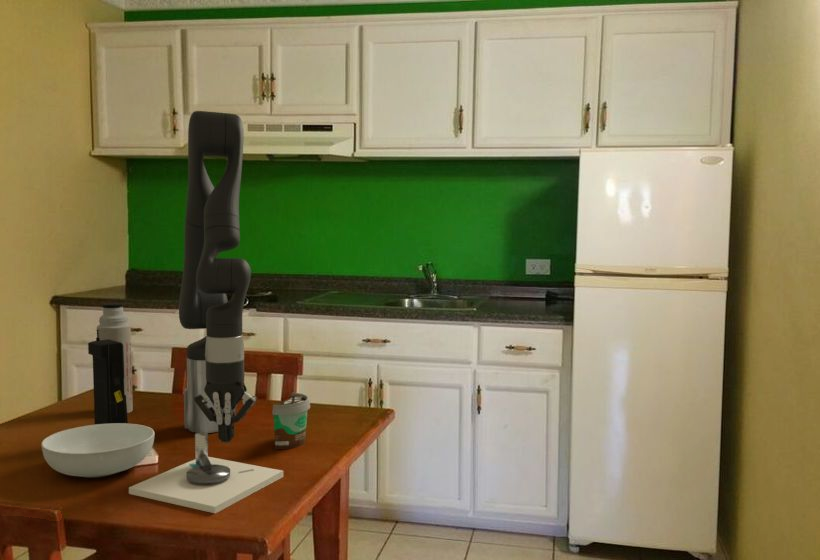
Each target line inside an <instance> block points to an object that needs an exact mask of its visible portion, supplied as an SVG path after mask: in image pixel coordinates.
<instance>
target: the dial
mask: <svg viewBox="0 0 820 560" xmlns="http://www.w3.org/2000/svg"><path fill="white" fill-rule="evenodd" d="M208 434H209V433H205V432H201V433H195V434H194V445H195V448H194V449H195V453H194V454H195V458H194V459H195V461H196V465H198V467H194V468H192V469H190V470H188V471H187V473H186V478H187V481H188V482H190V483H193V484H214V483H219V482H222V481H225V480H227V479H228V478H229V477H230V468H229V467H227V466H224V465H214V464H213V465H211V463H210V461H209V459H208V457H209V450H208V449H209V441H208V440H209V439H208V438H209V437H208V436H209V435H208Z"/></svg>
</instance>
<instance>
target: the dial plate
mask: <svg viewBox="0 0 820 560" xmlns="http://www.w3.org/2000/svg"><path fill="white" fill-rule="evenodd" d="M208 459H209V461H210V463H211V465H213V464H214V465H224V466H227V467H229V468H230V477H229V478H228V479H227V480H225V481H222V482H219V483H214V484H193V483H190V482H188V481H187V478H186V473H187V471H188V470H190V469H192V468H194V467H198V465H196V461H195V458H194V459H193V460H190V461H187V462H185V463H183V464H180V465H178V466H176V467H173V468H171V469H168V470H167V471H164V472H162V473H159V474H157V475H154V476H153V477H149V478H148V479H146V480H143V481H141V482H138V483H136V484H134V485H132V486H131V485H130V486H129V487H128V494H129V495H133V496H137V497H141V498H146V499H150V500H155V501H159V502H163V503H168V504H173V505H177V506H180V507H186V508H190V509H195V510H199V511H203V512H208V513H212V514H218V513H220V512H221V511H222V510H224V509H227V508H228V507H230V506H232V505H234V504H236V503H237V502H239V501H241V500H243V499H245V498H247V497H248V496H250V495H252V494H255V493H256V492H258V491H259V490H262V489H263V488H265V487H267V486H269V485H271V484H272V483H274V482H276V481H279V480H280V479H282V478H284V470H282V469H276V468H270V467H266V466H265V467H264V466H259V465H254V464H250V463H245V462H239V461H233V460H228V459H223V458H217V457H212V456H208Z"/></svg>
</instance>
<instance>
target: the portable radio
mask: <svg viewBox="0 0 820 560" xmlns="http://www.w3.org/2000/svg"><path fill="white" fill-rule="evenodd" d="M95 331H96V338H95V340H92V341H90V342H87V343H88V345H87V349H88V350H87V351H88V355H92V375H93V376H92V379H93V382H92V383H93V405H94V406H93V409H94V412H93V413H94V424H93V425H96V424H111V423H128V421H129V420H128V413H127V404H126V395H125V393H124V351H123V344H122V343H121V342H117V341H113V340H109V339H107V340H100V338H99V334H98V331H99V330H97V329H95ZM128 424H129V423H128Z"/></svg>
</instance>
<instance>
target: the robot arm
mask: <svg viewBox="0 0 820 560" xmlns="http://www.w3.org/2000/svg"><path fill="white" fill-rule="evenodd" d="M187 130H188V131H187V134H188V135H187V147H188V149H187V155H188V156H187V157H188V158H187V165H188V167H187V169H188V176H187V177H188V178H187V195H186V196H187V197H186V208H185V218H184V220H185V221H184V238H183V239H184V244H183V246H184V248H183V249H184V252H183V255H184V256H183V267H182V268H183V269H182V276H181V277H182V279H181V285H180V293H179V303H178V318H179V323H180V325H181V327H182V328H183V329H187V330H202V329H203V330H204V329H205V330H206V335H205V336H204V337H203V338H201V339H199V340H196V341H194V342H192V343H190V344H188V346H187V348H186V380H187V381H186V382H187V383H186V385H187V386H186V388H184V389H183V403H184V406H183V407H184V412H183V413H184V429H186V430H188V431H189V432H192V433H195V434H196V433H201V432H205V433H207V434H211V433H217V435H218V440H220V442H221V443H224V444H229V443H230V442H231V441H232V440H233V439H234V437H235V423H236V424H237V423H239V422H240V421H241V420H242V419H244V417H245V416H246V415H247V414H248V412H249V411H250V410H251V408H252V407H253V406H254V405H255V403H256V402H257V401H258V398H257V396H255V395H253V396H252V395H251V394H250V393H249V392H248V391H247V387H246V384H245V344H244V338H243V337H244V334H243V311H244V305H245V302H246V301H245V299H246V296H247V292H248V289H249V286H250V283H251V277H252V269H251V267H250V264H249V263H248V261H246V259H244V258H240V257H236V258H235V257H231V258H227V257H226V258H225V257H224V258H222V257H221V258H220V257H219V258H218V256H219V255H220V253H223V252H228V251H231V250H234V249H236V248H238V246H239V245H240V243H241V242H240V241H241V234H240V233H241V230H240V229H241V228H240V227H241V226H240V191H241V185H242V184H241V183H242V170H243V168H242V167H243V152H244V124H243V122H242V119H241V116H239V115H238V114H234V113H228V112H219V111H207V110H206V111H205V110H195V111H193V112H192V113H191V115H190V117H189V122H188V128H187ZM205 157H216V158H217V157H218V158H226V159H227V162H226V167H225V170H224V173H223V174H222V176H221V178H220V179H219V180H218V183H217V184H216V186H214V185H213V182H212V181H211V178H210V176H209V175H208V172H207V169H206V166H205V163H204V158H205ZM227 294H232V296H231V298H230V299H229V300H228V296H227ZM241 400H242V406H241V408H240V409H239V410H238V412H237V408H238V404H240V402H241ZM236 412H237V413H236Z"/></svg>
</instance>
